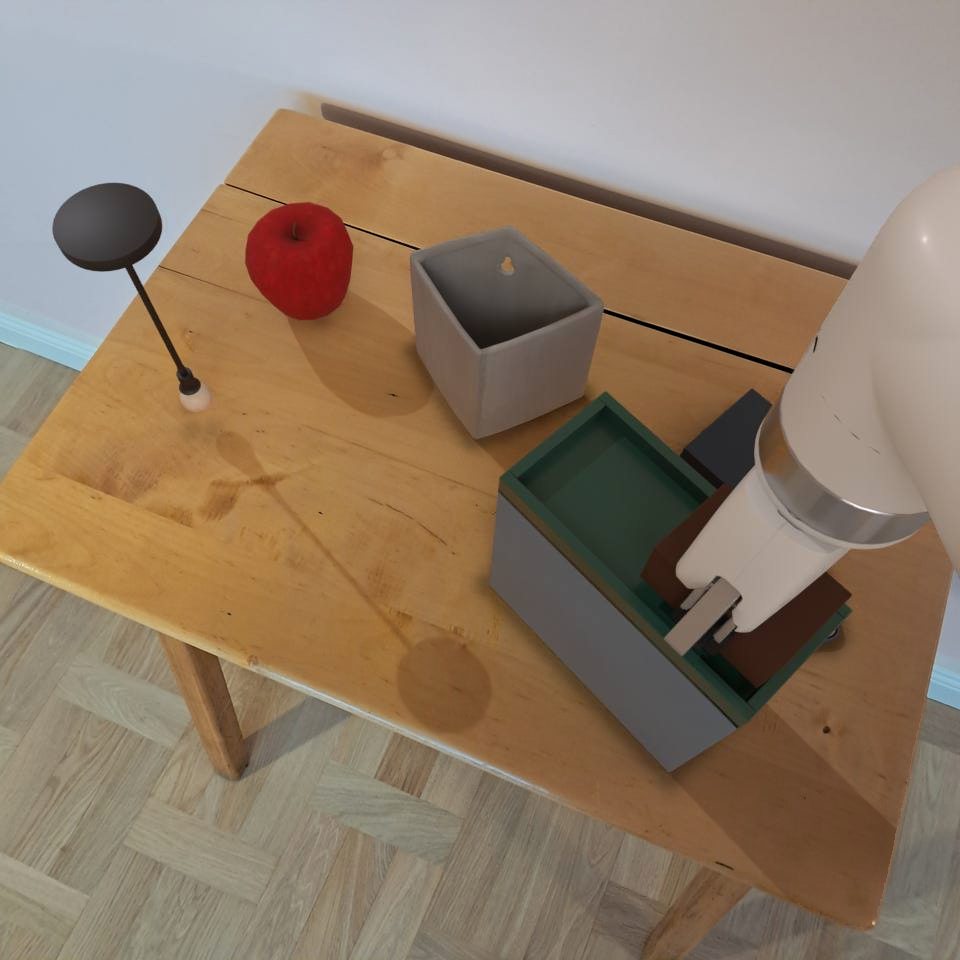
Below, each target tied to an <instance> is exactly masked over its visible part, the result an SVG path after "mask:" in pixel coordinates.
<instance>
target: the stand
mask: <svg viewBox="0 0 960 960" xmlns="http://www.w3.org/2000/svg"><path fill="white" fill-rule="evenodd" d="M495 506H496V508H495V515H494V517H495V518H494V528H493V537H492V547H491V549H492V550H491V559H490V569H489V570H490V571H489V578H488V579H489V580H488V586H489V587H490V588H491V589H492V590H493V591H494V592H495V593H496V594H497V595H498V596H499V597H500V598H501V599H502V600H503V602H505V604H506V605H508V606H509V607H510V609H511V610H512V611H513V612H514V613H515V614H516V615H517V616H518V617H519V618H520V619H521V620H522V621H523V622H524V623H525V624H526V626H528V628H529V629H531V631H532V632H533V633H534V634H535V635H536V636H537V637H538V638H539V639H540V640H541V641H542V642H543V644H545V645H546V646H547V647H548V648H549V650H550V651H551V652H553V654H554V655H555V656H556V657H557V658H558V659H559V660H560V661H561V662H562V663H563V664H564V665H565V666H566V668H567V669H568V670H569V671H571V673H572V674H573V675H574V676H575V677H576V678H577V679H578V680H579V681H580V682H581V683H582V684H583V685H584V686H585V687H586V688H587V689H588V691H590V692H591V694H593V695H594V697H595V698H596V699H597V700H598V701H599V702H600V703H601V704H602V706H604V707H605V708H606V709H607V711H609V712H610V713H611V714H612V715H613V716H614V717H615V718H616V720H618V722H619V723H620V724H621V725H622V726H623V727H624V728H625V729H626V731H628V732H629V733H630V734H631V736H633V737H634V738H635V740H637V742H638V743H640V745H641V746H642V747H643V748H644V749H645V750H646V751H647V752H648V753H649V754H650V755H651V756H652V757H653V758H654V759H655V761H657V762H658V763H659V765H660V766H661V767H662V768H663V769H664V770H665V771H666V772H667V773H668V774H669V773H671V772H673V771H675V770H676V769H678V768H679V767H681V766H683V765H684V764H685V763H687V762H689V761H690V760H692V759H693V758H695V757H696V756H698V755H700V754H701V753H703V752H704V751H706V750H707V749H710V748H711V747H712V746H714V745H715V744H717V743H718V742H720V741H722V740H723V739H725V738H726V737H728V736H729V735H731V734H732V733H735V732H736V731H737V730H738V729H737V728H736V727H735V726H734V725H733V724H732V723H731V722H730V721H729V720H728V719H727V718H726V717H725V716H724V715H723V714H722V713H721V712H720V711H719V710H718V709H717V708H716V707H715V706H714V705H713V704H712V703H711V702H709V701H708V700H707V699H706V698H705V697H704V696H703V695H702V694H701V693H700V692H699V691H698V690H697V689H696V688H695V687H694V686H693V685H692V684H691V683H690V682H689V681H688V680H687V679H686V678H685V677H684V676H683V675H682V674H681V673H680V672H679V671H678V670H677V669H676V668H675V667H674V666H673V665H672V664H671V663H670V662H669V661H668V660H667V659H666V658H665V657H664V656H663V655H662V654H661V653H660V652H659V651H658V650H657V649H656V648H655V647H654V646H653V645H652V644H651V643H650V642H649V641H648V640H647V639H646V638H645V637H644V636H643V635H642V634H641V633H640V632H639V631H638V630H637V629H636V628H635V627H634V626H633V625H632V624H631V623H630V622H629V621H628V620H627V619H626V618H625V617H624V616H623V615H622V614H621V613H620V612H619V611H618V610H617V609H616V608H615V607H614V606H613V605H612V604H611V603H610V602H609V601H608V600H607V599H606V598H605V597H604V596H603V595H602V594H601V593H600V592H599V591H598V590H597V589H596V588H595V587H594V586H593V585H592V584H591V583H590V582H589V581H588V580H587V579H586V578H585V577H584V576H583V575H581V574H580V573H579V572H578V571H577V570H576V569H575V568H574V567H573V566H572V565H571V564H570V563H569V562H568V561H567V560H566V559H565V558H564V557H563V556H562V555H561V554H560V553H559V552H558V551H557V550H556V549H555V548H554V547H553V546H552V545H551V544H550V543H549V542H548V541H547V540H546V539H545V538H544V537H543V536H542V535H541V534H540V533H539V532H538V531H537V530H536V529H535V528H534V527H533V526H532V525H531V524H530V523H529V522H528V521H527V520H526V519H525V518H524V517H523V516H522V515H521V514H520V513H519V512H518V511H517V510H516V509H515V508H514V507H513V506H512V505H511V504H510V503H509V502H508V501H507V500H506V499H505V498H504V497H503V496H502V495H501V494H500V493H499V492H498V491H497V498H496V505H495Z"/></svg>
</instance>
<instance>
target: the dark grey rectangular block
mask: <svg viewBox="0 0 960 960" xmlns="http://www.w3.org/2000/svg"><path fill="white" fill-rule="evenodd" d="M772 405H773V404H772V403H771V402H770V401H769V400H767V398H765V397H764V396H763V395H762V394H760V392H758V391H757V390H755V389H754V388H750V389H749V390H748V391H746V393H745V394H743V395H742V396H741V397H740V398H739V399H737V400H736V401H735V402H734V403H733V404H732V405H731V406H730V407H728V409H726V410H725V411H724V412H723V413H721V415H719V417H717V418H716V419H715V420H714V421H712V423H710V424H709V425H708V426H707V427H706V428H704V430H702V431H701V432H700V433H699V434H698V435H697V436H695V437H694V438H693V439H691V441H690V442H689V443H688V444H686V445H685V446H684V448H683V450H682V452H681V453H680V455H679V456H680V457H681V458H682V459H683V460H684V461H685V462H686V463H688V464H689V465H690V466H691V467H692V468H693V469H694V470H695V471H697V472H698V473H699V474H700V475H701V476H702V477H703V478H704V479H706V480H707V481H708V482H709V483H710V484H711V485H712V486H713V487H715V488H716V489H717V490H718V489H719V488H720V487H721V486H722V485H723V484H727V485H728V486H729V487H730V488H732V489H733V490H734V489H735V488H736V486H737V485H738V484H739V483H740V482H741V480H742V479H743V478H744V477H745V476H746V475H747V473H748V472H749V471H750V470H751V469H752V468H753V467H754V466H755V456H754V449H755V440H756V436H757V433H758V430H759V427H760V425H761V423H762V422H763V420H764V418H765V416H766V415H767V413H768V412H769V410H770V408H771V407H772Z"/></svg>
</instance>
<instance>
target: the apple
mask: <svg viewBox="0 0 960 960" xmlns="http://www.w3.org/2000/svg"><path fill="white" fill-rule="evenodd" d="M348 231H349V230H347V227H346V225H345V222H344V221H343V218H342V217H340V216H339V215H338V214H337V213H335V212H334V211H332V209H330V208H329V207H327V206H324V205H320V204H317V203H314V202H311V201H303V202H291V203H290V202H289V203H286V204H284V205H281V206H278V207H275V208H273V209H270V210H269V211H267V213H265V214H264V215H263V216H261V218H260V219H258V220H257V221H256V223H255V224H254V225H253V227H252V229H250V231H249V233H248V234H247V238H246V239H247V240H246V245H245V253H244V255H245V257H244V264H245V267H246V270H247V272H248V276H249V279H250V280H251V282H252V283H253V285H254V286H255V288H256V289H257V290H258V292H259V293H260V295H261V296H263V297H264V298H265V299H266V300H267V301H268V302H269V303H270V304H271V305H272V306H274V307H275V308H276V309H277V310H279V311H280V312H281V313H282V314H283V315H284V316H287V317H289V318H292V319H295V320H297V321H314V320H317V319H320V318H324V317H327V316H329V315H331V314H332V313H333V312H334V311H336V310H338V309H339V308H340V307H341V305H342V303H343V301H344V299H345V298H346V296H347V293H348V289H349V285H350V282H351V277H352V276H351V275H352V268H353V257H354V244H353V242H352V239H351V237H350V234H349V232H348Z"/></svg>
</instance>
